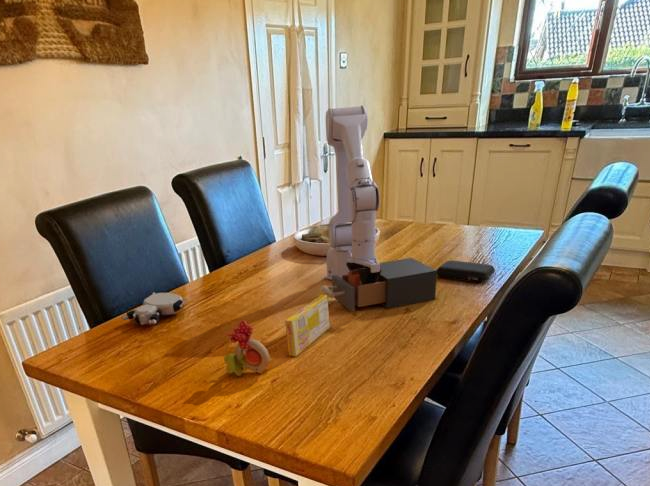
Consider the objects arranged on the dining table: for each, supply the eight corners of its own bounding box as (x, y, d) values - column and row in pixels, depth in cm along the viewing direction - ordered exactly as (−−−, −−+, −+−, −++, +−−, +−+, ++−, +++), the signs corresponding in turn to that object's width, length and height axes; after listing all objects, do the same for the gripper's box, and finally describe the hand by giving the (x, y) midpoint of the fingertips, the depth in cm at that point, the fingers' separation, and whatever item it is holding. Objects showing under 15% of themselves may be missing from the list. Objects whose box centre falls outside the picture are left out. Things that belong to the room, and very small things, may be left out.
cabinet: (386, 308, 129) (387, 279, 125) (365, 292, 140) (365, 265, 136) (435, 299, 132) (437, 270, 128) (409, 284, 143) (411, 257, 139)
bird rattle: (267, 374, 108) (229, 355, 108) (283, 331, 101) (242, 311, 102) (255, 389, 103) (216, 369, 104) (271, 345, 96) (229, 324, 97)
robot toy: (157, 334, 127) (193, 309, 138) (152, 318, 125) (190, 293, 135) (121, 328, 133) (158, 304, 143) (115, 312, 130) (154, 289, 140)
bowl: (277, 253, 180) (275, 230, 176) (322, 233, 200) (321, 212, 196) (353, 262, 164) (353, 237, 160) (393, 240, 185) (394, 217, 181)
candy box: (322, 327, 122) (320, 293, 117) (330, 328, 121) (329, 294, 116) (287, 355, 110) (284, 319, 106) (295, 357, 109) (293, 320, 105)
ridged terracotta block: (354, 300, 130) (354, 273, 126) (347, 294, 134) (347, 268, 130) (379, 295, 131) (379, 268, 128) (371, 290, 135) (371, 264, 132)
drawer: (334, 313, 126) (334, 291, 123) (318, 298, 136) (317, 277, 133) (396, 302, 130) (396, 280, 127) (375, 288, 139) (375, 267, 136)
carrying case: (431, 279, 145) (484, 286, 138) (432, 268, 144) (485, 274, 136) (445, 268, 153) (496, 274, 145) (446, 258, 151) (497, 263, 143)
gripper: (337, 235, 130) (338, 286, 137) (360, 248, 118) (360, 304, 125) (362, 231, 132) (362, 282, 139) (388, 243, 120) (386, 299, 127)
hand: (363, 292), depth 132 cm, fingers open, 5 cm apart
